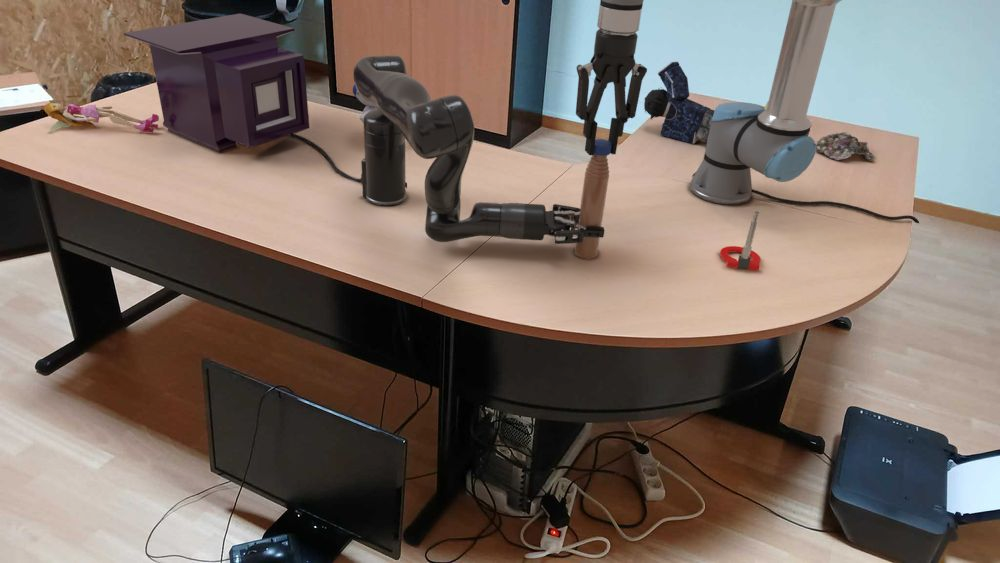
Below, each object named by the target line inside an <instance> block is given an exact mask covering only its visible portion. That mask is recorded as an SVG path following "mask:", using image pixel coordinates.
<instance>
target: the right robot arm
mask: <svg viewBox="0 0 1000 563" xmlns="http://www.w3.org/2000/svg"><path fill="white" fill-rule="evenodd" d="M841 1H842V0H791V5H790V9H789V13H788V17H787V20H786V21H787V22H786V26H785V30H784V34H783V39H782V43H781V47H780V52H779V55H778V61H777V64H776V68H775V72H774V75H773V81H772V85H771V89H770V94H769V98H768V101H767V102H768V106H767V109H766V110H765V106H763V105H760V104H757V103H752V102H745V101H744V102H743V101H740V102H739V101H730V102H722V103H721V104H718V105H716V107H715V109H714V115H713V118H712V120H711V125H710V130H709V135H708V140H707V142H706V145H705V150H704V154H703V159H702V161H701V163H700V165H699V166H698V168H697V169H696V171H695V172H694V173H693V174H692V176H691V178H692V179H691V181H690V184H689V189H690V191H691V193H693V194H694V196H696V197H698V198H700V199H702V200H704V201H707V202H710V203H713V204H717V205H726V206H727V205H729V206H734V205H742V204H745V203H747V202H749V201H750V199H751V197H752V194H756V195H759V196H762V197H765V198H767V199H769V200H773V201H777V202H781V203H786V204H792V205H793V204H795V205H804V206H813V205H815V206H816V205H829V206H837V207H842V208H847V209H851V210H855V211H859V212H862V213H866V214H868V215H870V216H872V217H873V216H874V217H876V218H880V219H884V220H887V221H900V220H907V219H908V220H911V221H913V222H914V223H916V224H920V221H919V220H918V218H917V217H915V216H913V215H907V214H906V215H899V216H898V215H897V216H889V215H885V214H881V213H878V212H874V211H873V210H869V209H866V208H864V207H860V206H855V205H851V204H847V203H843V202H837V201H829V200H814V201H803V200H795V199H794V200H793V199H786V198H782V197H778V196H774V195H772V194H771V195H770V194H768V193H765V192H762V191H759V190H757V189H754V188H753V186H752V174H751V170H753V171H756V172H757V173H759V174H761V175H763V176H764V177H765V178H768V179H771V180H774V181H776V182H778V183H787V182H790V181H793V180H794V179H796V178H798V177H799V176H801V175H802V174H803V173H804V172H805V171H806V170H807V169H808V167H809V166H810V165H811V163H812V162H813V160H814V158H815V156H816V152H817V150H816V144H817V143H816V141H815V140H814V138H812V137H811V136H809V134H810V131H811V127H812V122H811V120H810V119H809V118H808V116H807V114H808V110H809V107H810V104H811V99H812V96H813V92H814V88H815V85H816V81H817V78H818V74H819V69H820V67H821V66H820V65H821V62H822V58H823V55H824V50H825V48H826V44H827V39H828V36H829V32H830V29H831V25H832V21H833V17H834V13H835V11H836V7H837V5H838V4H839V3H840V2H841ZM643 5H644V0H600V2H599V7H598V17H597V23H596V24H597V25H596V26H597V28H598V30H596V32H595V39H594V46H593V55H592V57H591V59H590V60H589V61H590V62H588V63H586V64H578V65H576V72H577V76H578V82H577V92H576V93H577V95H576V104H575V115H576V116H577V117H578V118H579V119H580V120H581V121H583V130H582V135H583V137H584V138H585V145H584V151H585V152H586V153H587V154H588V156H592V155H593V153H594V146H595V139H597V130H598V125H599V124H598V122H597V121H596V120H595V119H596V117H597V113H598V111H599V107H600V105H601V102H602V98H603V96H604V95H603V94H604V92H605V91H606V89H607V87H608V84H612V83H613V88H614V89H613V90H614V105H615V106H614V109H615V117H611V118H610V119H611V120H610V127H609V133H608V139H607V141H610V142H611V143H612V149H611V153H610V155H616V154H617V148H618V142H619V137H623V134H624V128H625V124H626V123H628V121H629V119H634V118H635V117H636V114H637V109H638V104H639V98H640V93H641V89H642V84H643V80H644V78H645V76H646V74H647V72H648V68H647V67H646V66H645V65H644V64H641V63H636V59H635V54H636V50H637V43H638V38H639V36H638V33H637V32H639V31H640V23H641V17H642V12H643V11H642V10H643ZM592 71H593V72H594V74H595V77H594V79H593V86H592V90H591V93H590V95H589V91H590V90H589V89H590V77H591V75H592ZM630 72H631V77H630V81H629V87H628V92H627V97H626V87H627V76H628V75H629V74H630Z"/></svg>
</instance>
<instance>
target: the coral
mask: <svg viewBox="0 0 1000 563" xmlns="http://www.w3.org/2000/svg"><path fill="white" fill-rule="evenodd" d="M815 144H816V152H818V153H824V155H825V156H827V157H828V158H830V159H832V160H835V161H839V160H840V161H841V160H844V159H848V158H851V157H852V155H853V154H854V155H857V154H859V155H860V156H861V158H863V159H865V160H866V161H871V162H874V160H875V159H874V158H875V155H874V154H873V153H872V152H871V151H870V149H869V147H868V142H867V141H859V139H858V137H855V136H853V135H852V134H851V133H849V132H848V131H846V132H844V131H843V132H836V133H830V134H827V135H826V136H822V137H820V138H819V140H818V141H817V142H816V143H815ZM873 157H874V158H873Z"/></svg>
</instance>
